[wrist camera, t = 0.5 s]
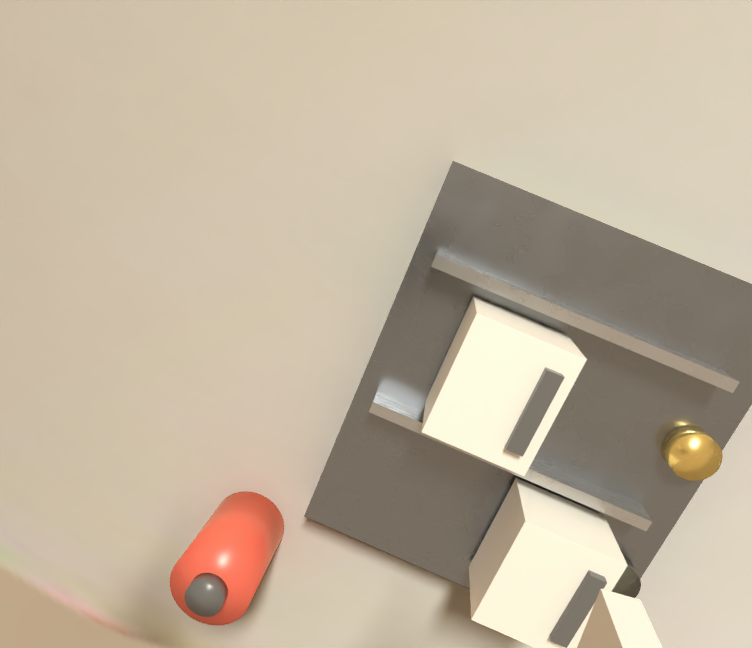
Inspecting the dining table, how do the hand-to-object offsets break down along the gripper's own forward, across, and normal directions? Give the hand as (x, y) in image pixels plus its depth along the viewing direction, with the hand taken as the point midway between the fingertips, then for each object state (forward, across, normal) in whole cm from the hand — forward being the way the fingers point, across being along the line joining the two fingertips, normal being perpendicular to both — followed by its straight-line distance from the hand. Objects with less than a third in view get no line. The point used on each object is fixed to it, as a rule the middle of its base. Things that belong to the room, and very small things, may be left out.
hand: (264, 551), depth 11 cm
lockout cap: (+20, -5, -15) cm, 25 cm away
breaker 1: (+18, +6, 0) cm, 19 cm away
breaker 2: (+18, +11, -9) cm, 23 cm away
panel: (+20, +9, -3) cm, 22 cm away
